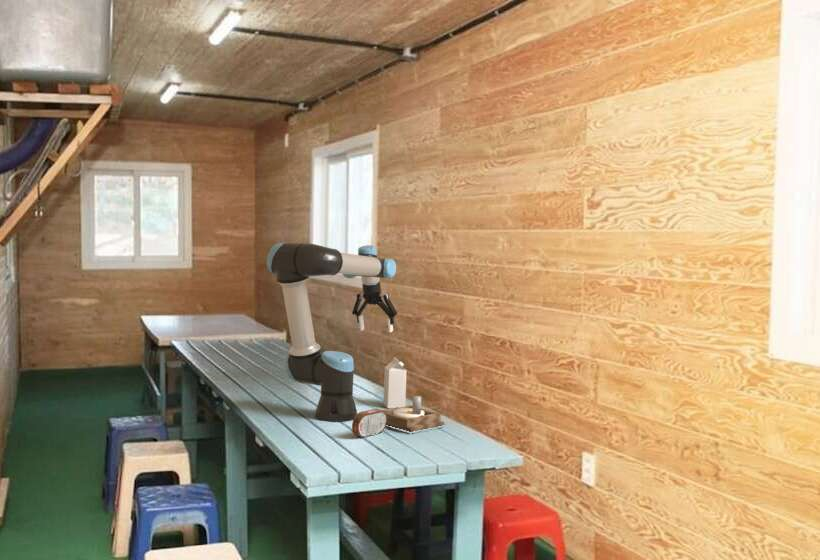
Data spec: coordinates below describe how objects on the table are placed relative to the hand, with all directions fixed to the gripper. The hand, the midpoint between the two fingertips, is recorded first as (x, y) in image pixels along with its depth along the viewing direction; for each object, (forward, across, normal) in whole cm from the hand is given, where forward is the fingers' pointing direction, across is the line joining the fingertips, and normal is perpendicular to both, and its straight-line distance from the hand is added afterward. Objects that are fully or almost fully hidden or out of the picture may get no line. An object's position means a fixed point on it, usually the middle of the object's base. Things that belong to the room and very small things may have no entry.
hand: (376, 330), depth 322 cm
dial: (+14, -35, +47) cm, 60 cm away
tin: (+12, -29, +67) cm, 74 cm away
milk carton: (+22, -18, +25) cm, 38 cm away
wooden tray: (+16, -34, +48) cm, 61 cm away
